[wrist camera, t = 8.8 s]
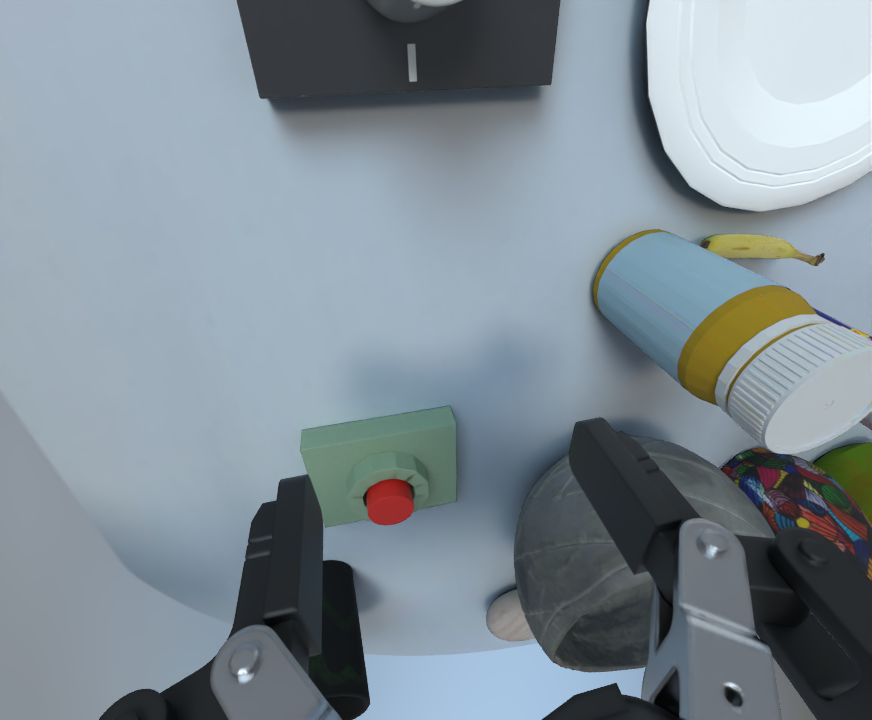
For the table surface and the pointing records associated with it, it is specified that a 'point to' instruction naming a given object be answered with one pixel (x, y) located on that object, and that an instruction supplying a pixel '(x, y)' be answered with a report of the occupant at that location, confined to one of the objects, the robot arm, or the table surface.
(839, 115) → the plate
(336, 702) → the cup
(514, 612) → the decorative stone
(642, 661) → the bowl
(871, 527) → the egg
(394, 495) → the timer button
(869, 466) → the apple
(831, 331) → the bottle
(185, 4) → the table surface
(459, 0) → the hob knob
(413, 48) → the panel
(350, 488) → the green button base
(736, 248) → the banana
